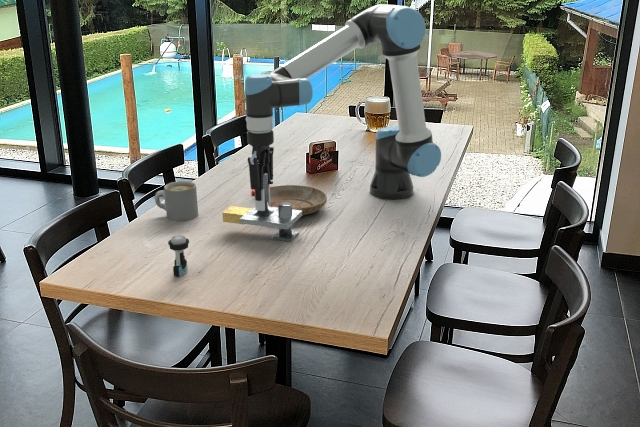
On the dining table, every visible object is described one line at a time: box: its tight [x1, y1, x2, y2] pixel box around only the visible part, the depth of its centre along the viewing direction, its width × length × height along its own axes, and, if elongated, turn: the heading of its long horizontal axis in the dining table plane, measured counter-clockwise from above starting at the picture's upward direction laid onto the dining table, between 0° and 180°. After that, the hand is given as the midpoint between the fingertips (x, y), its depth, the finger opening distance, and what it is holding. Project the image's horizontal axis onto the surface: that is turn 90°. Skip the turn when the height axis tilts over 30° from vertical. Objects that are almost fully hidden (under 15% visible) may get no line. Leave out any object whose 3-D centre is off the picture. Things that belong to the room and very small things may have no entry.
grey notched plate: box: [222, 203, 303, 243], centre depth 205 cm, size 22×12×10 cm, turn 71°
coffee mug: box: [154, 180, 199, 222], centre depth 220 cm, size 13×10×10 cm
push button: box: [167, 234, 190, 277], centre depth 180 cm, size 7×5×10 cm
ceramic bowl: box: [269, 184, 328, 216], centre depth 225 cm, size 23×24×5 cm
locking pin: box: [257, 172, 269, 217], centre depth 202 cm, size 3×3×13 cm
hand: (263, 207), depth 203 cm, fingers closed on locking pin, 3 cm apart
